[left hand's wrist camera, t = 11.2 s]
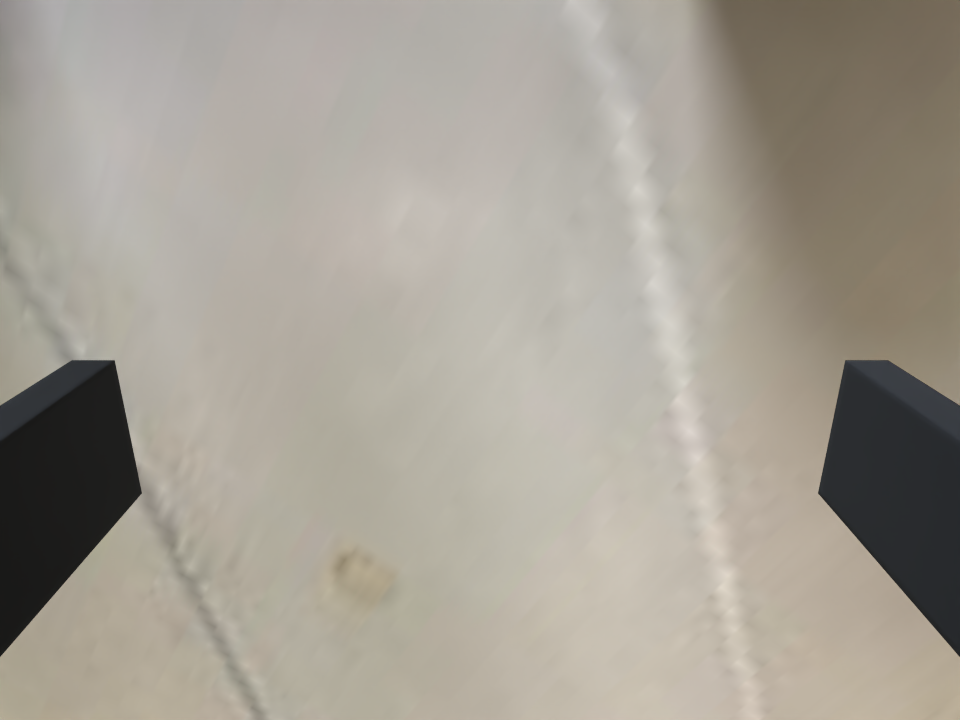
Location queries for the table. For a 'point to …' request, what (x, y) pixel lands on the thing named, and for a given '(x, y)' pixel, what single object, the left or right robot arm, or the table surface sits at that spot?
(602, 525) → the table surface
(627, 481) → the table surface
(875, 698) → the table surface
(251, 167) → the table surface
